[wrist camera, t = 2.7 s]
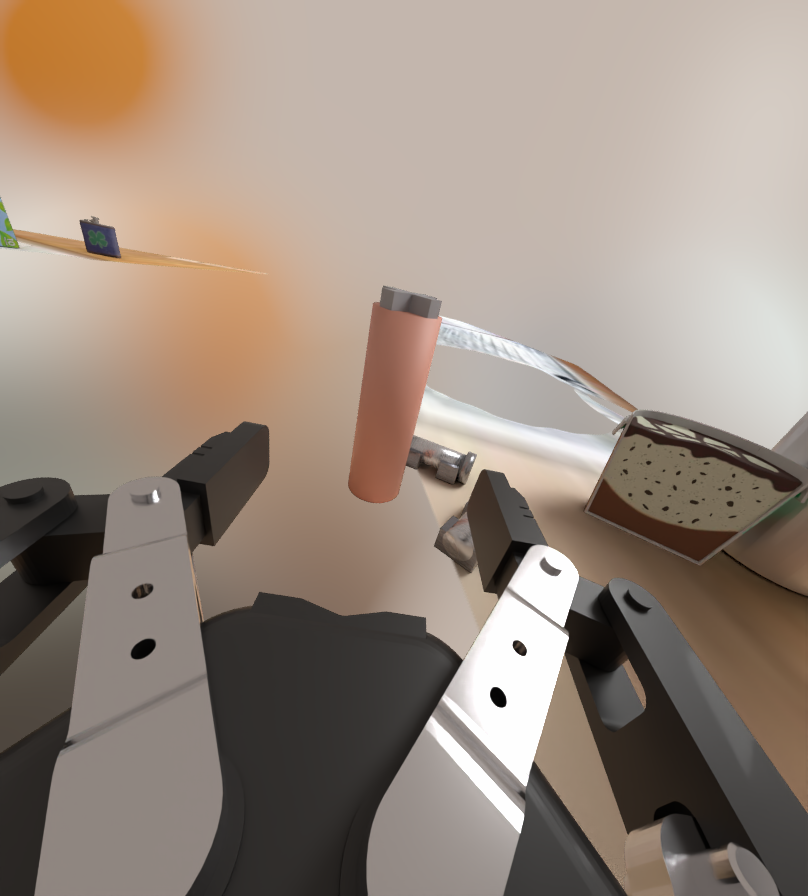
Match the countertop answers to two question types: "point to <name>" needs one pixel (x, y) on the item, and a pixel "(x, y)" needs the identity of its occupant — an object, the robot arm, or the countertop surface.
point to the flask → (100, 238)
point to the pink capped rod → (392, 390)
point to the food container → (690, 484)
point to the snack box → (6, 230)
